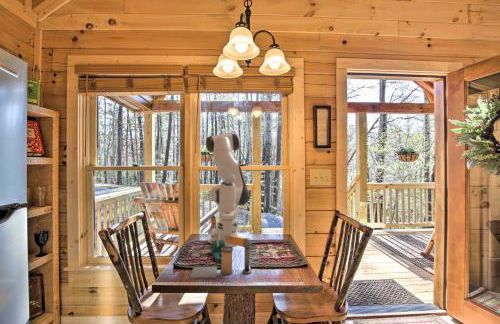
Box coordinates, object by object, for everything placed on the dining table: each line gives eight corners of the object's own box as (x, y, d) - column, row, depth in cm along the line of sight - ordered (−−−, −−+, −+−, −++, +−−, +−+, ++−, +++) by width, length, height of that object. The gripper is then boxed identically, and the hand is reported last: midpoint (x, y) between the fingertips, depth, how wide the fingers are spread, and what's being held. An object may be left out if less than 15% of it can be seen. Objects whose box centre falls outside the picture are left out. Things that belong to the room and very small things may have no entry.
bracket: (211, 252, 169) (211, 239, 169) (222, 251, 171) (222, 238, 171) (216, 263, 152) (216, 248, 152) (228, 262, 154) (228, 247, 153)
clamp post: (240, 272, 140) (240, 247, 140) (247, 269, 143) (247, 245, 143) (246, 274, 137) (246, 249, 137) (253, 272, 140) (253, 247, 140)
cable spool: (218, 272, 139) (218, 248, 139) (227, 269, 144) (227, 245, 143) (225, 276, 135) (225, 251, 135) (235, 272, 139) (235, 248, 139)
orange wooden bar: (251, 246, 140) (251, 238, 140) (247, 248, 138) (248, 240, 137) (227, 241, 149) (227, 233, 149) (223, 242, 146) (223, 235, 146)
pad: (190, 278, 132) (190, 277, 132) (193, 268, 144) (193, 267, 144) (215, 278, 133) (215, 276, 133) (217, 267, 145) (217, 266, 145)
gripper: (222, 210, 155) (222, 235, 154) (220, 216, 134) (220, 246, 134) (233, 210, 155) (233, 235, 155) (234, 216, 135) (234, 245, 134)
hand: (227, 240), depth 144 cm, fingers closed
